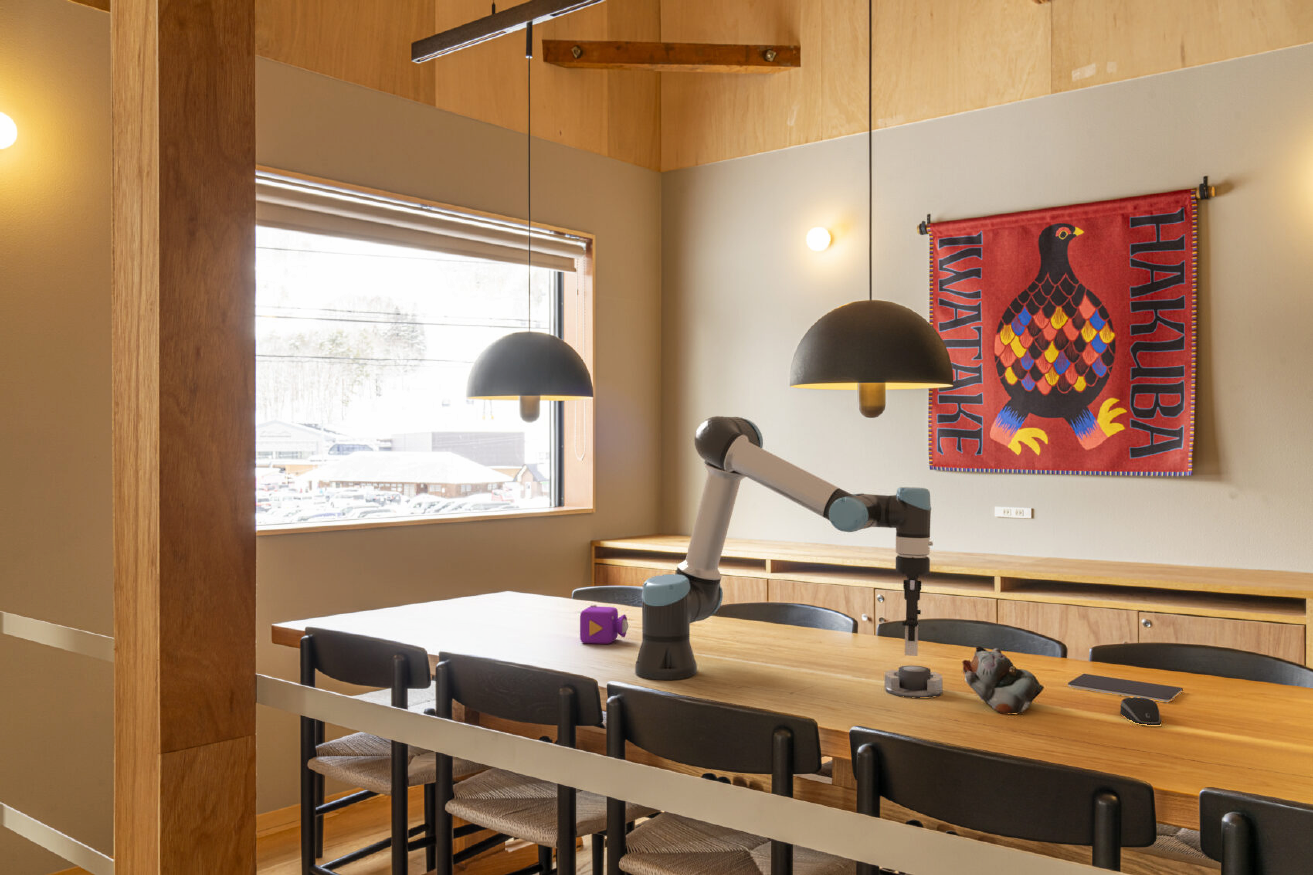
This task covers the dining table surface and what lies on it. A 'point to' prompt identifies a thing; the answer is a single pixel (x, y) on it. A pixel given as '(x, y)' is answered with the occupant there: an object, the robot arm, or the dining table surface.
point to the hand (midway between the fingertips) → (911, 648)
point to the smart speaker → (914, 677)
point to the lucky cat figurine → (1000, 681)
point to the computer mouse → (1141, 711)
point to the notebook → (1125, 687)
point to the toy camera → (601, 625)
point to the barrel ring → (932, 690)
